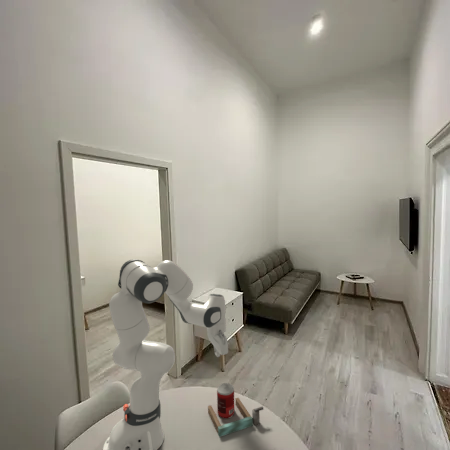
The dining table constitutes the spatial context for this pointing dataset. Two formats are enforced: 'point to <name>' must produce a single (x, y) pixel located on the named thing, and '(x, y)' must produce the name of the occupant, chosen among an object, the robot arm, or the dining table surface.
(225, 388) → the canned food
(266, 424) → the dining table surface
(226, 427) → the bay
